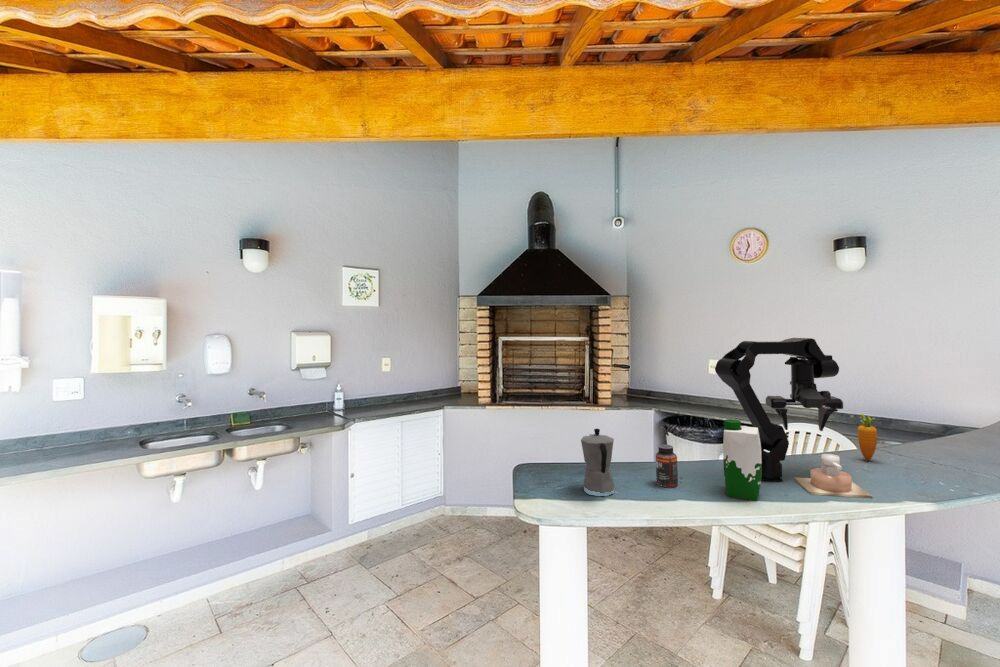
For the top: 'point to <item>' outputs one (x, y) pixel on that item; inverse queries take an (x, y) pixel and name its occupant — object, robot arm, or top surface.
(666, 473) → the supplement bottle
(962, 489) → the top surface
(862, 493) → the birch board
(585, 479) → the coffeepot
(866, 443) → the carrot
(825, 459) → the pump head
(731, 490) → the milk carton
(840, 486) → the soap jar
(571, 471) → the top surface
